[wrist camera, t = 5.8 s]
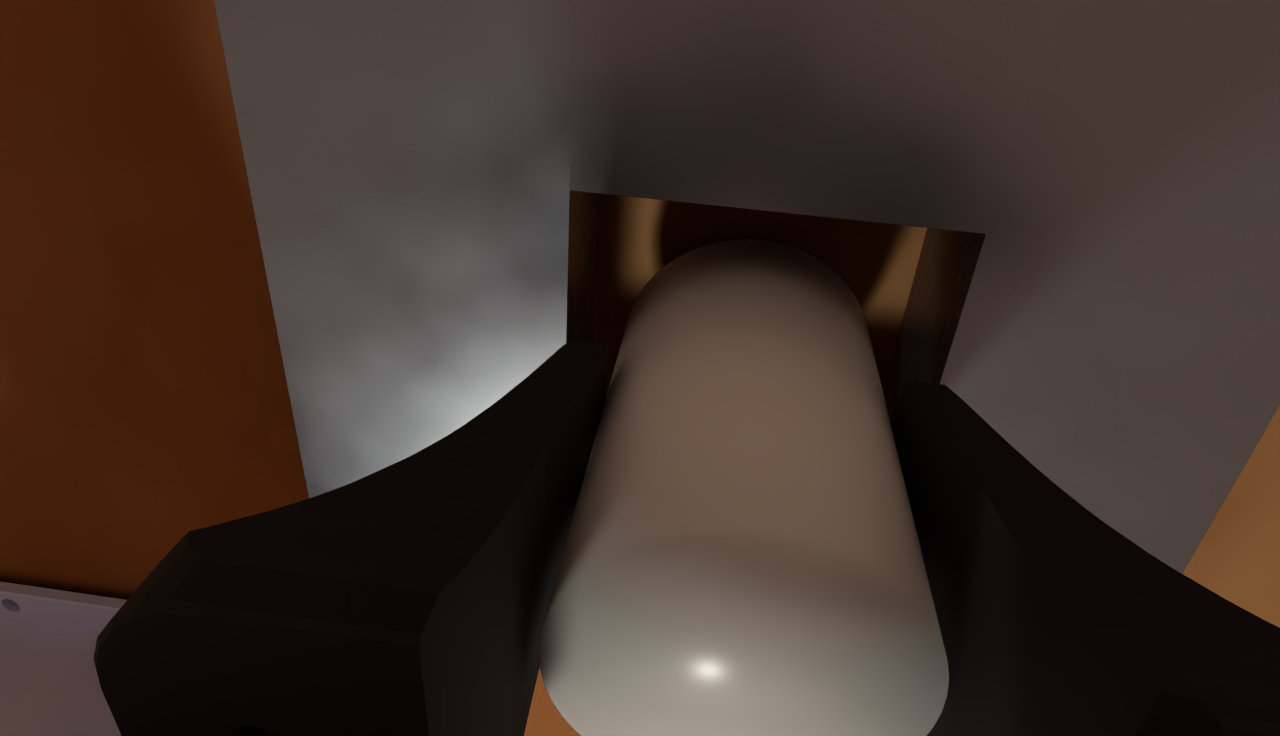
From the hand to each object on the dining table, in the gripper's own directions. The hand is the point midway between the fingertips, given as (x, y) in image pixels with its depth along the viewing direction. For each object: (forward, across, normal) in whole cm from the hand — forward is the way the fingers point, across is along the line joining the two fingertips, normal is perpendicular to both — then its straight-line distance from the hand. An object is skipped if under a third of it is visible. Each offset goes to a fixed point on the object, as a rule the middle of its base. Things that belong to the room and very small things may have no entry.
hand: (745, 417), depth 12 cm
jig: (+4, 0, 0) cm, 4 cm away
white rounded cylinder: (+2, 0, 0) cm, 3 cm away
